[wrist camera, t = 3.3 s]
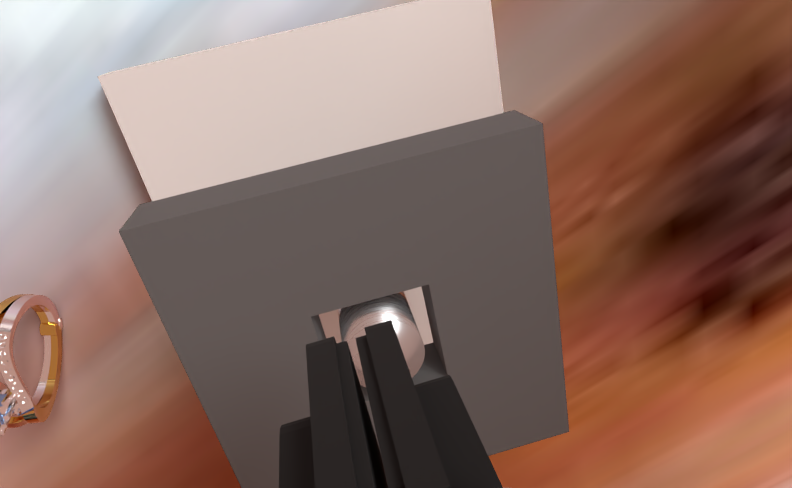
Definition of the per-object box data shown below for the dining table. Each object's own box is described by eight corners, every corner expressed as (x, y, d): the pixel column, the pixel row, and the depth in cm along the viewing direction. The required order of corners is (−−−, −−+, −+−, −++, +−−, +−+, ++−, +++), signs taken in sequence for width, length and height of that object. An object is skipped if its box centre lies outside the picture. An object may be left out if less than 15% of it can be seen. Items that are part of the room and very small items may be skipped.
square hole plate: (139, 204, 19) (118, 231, 17) (514, 110, 20) (542, 123, 18) (262, 477, 25) (259, 524, 23) (545, 394, 26) (569, 431, 24)
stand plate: (110, 71, 28) (97, 76, 26) (476, -14, 29) (488, -15, 27) (246, 392, 37) (244, 412, 35) (518, 316, 39) (529, 331, 37)
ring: (89, 368, 34) (35, 464, 27) (34, 369, 34) (-37, 467, 27) (77, 271, 32) (13, 349, 25) (16, 270, 31) (-67, 349, 24)
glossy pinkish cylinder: (312, 206, 30) (325, 330, 19) (373, 190, 31) (423, 303, 19) (329, 260, 32) (349, 406, 20) (386, 245, 32) (440, 380, 21)
